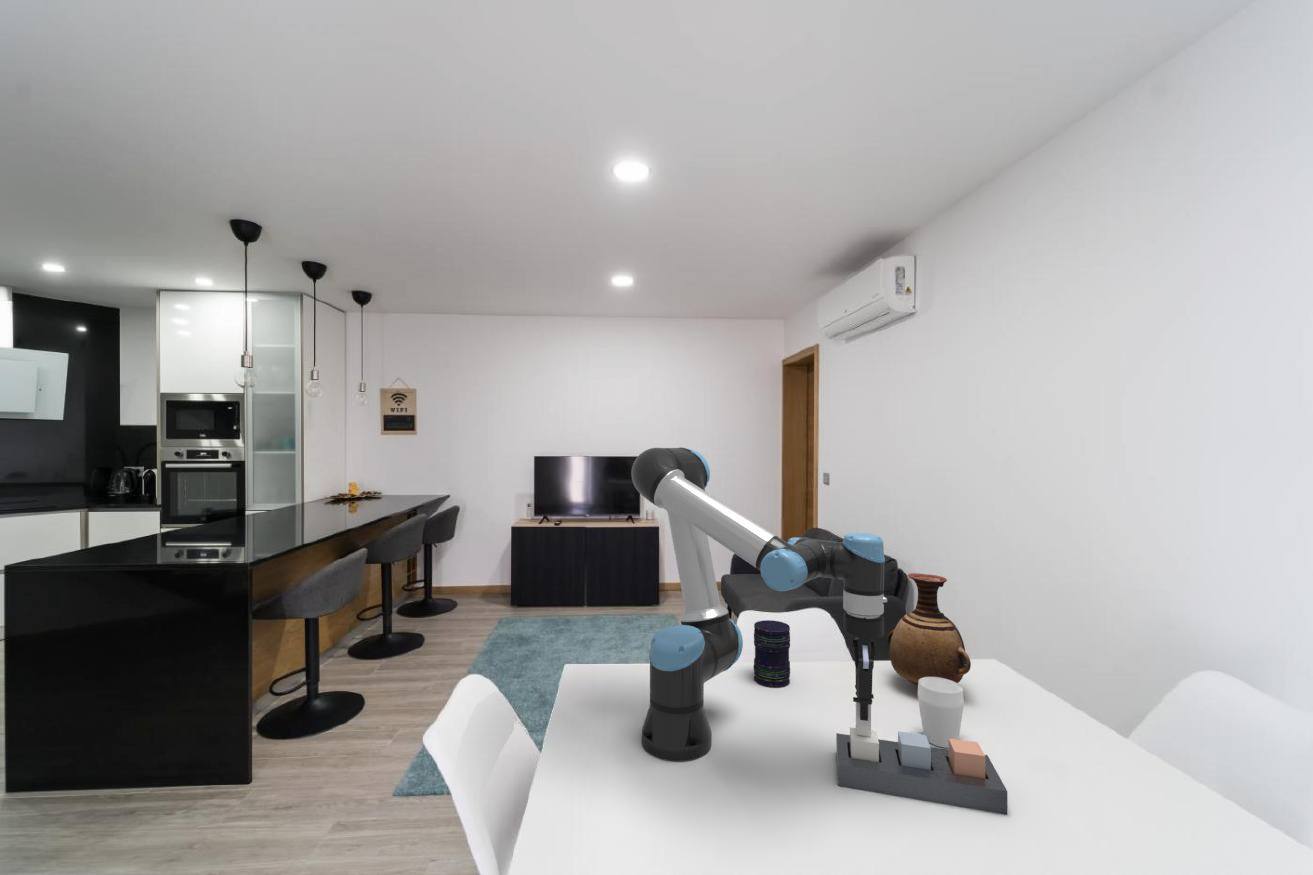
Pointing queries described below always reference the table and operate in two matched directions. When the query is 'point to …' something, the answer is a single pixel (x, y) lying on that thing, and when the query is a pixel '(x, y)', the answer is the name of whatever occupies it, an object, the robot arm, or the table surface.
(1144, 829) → the table surface
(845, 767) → the panel
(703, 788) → the table surface
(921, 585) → the vase
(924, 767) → the slate key
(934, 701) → the cup
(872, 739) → the ivory key
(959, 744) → the terracotta key
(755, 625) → the storage jar
